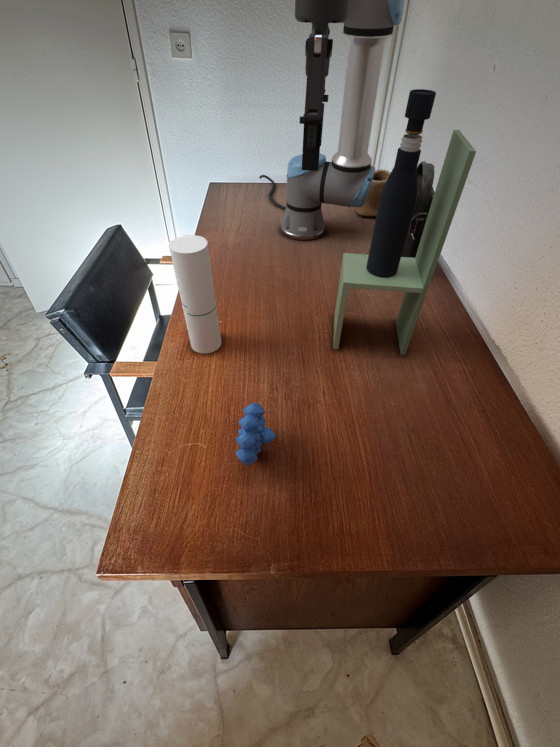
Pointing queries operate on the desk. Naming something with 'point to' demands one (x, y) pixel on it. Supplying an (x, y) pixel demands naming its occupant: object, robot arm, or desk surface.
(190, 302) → the cylindrical container
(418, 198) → the shoulder bag
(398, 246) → the wine bottle
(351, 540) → the desk surface
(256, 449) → the grapes
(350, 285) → the green miniature chair
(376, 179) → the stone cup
